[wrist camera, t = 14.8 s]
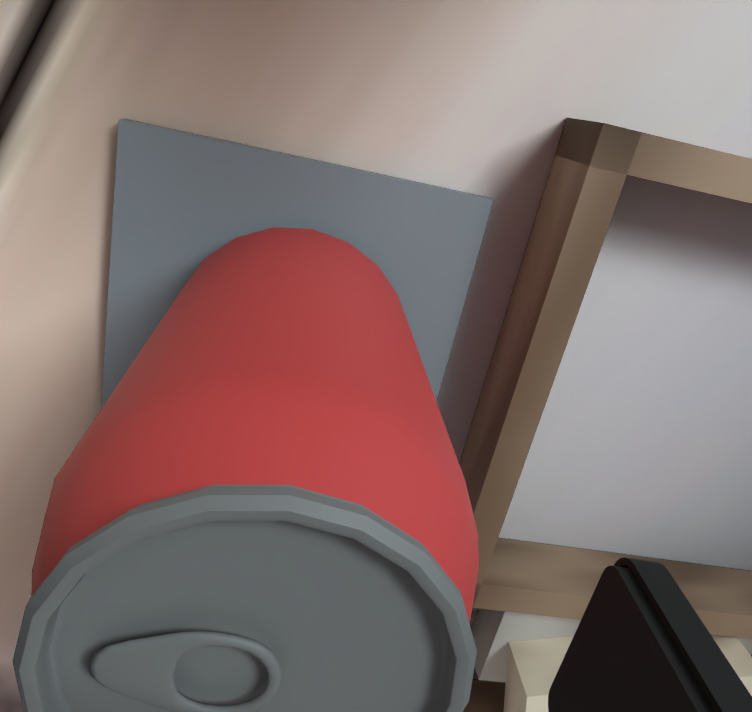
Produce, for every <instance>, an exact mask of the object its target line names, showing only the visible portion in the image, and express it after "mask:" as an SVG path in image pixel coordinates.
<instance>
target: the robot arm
mask: <svg viewBox="0 0 752 712" xmlns="http://www.w3.org/2000/svg"><path fill="white" fill-rule="evenodd" d="M548 710H549V712H752V696H751V695H750V693H749V692H748V690H747V689H746V687H745V686H744V684H743V683H742V681H741V680H740V678H739V677H738V675H737V673H736V672H735V670H734V669H733V667H732V666H731V664H730V663H729V661H728V660H727V658H726V657H725V655H724V654H723V652H722V651H721V649H720V648H719V646H718V645H717V643H716V642H715V640H714V639H713V637H712V636H711V634H710V633H709V631H708V630H707V628H706V627H705V625H704V624H703V622H702V621H701V619H700V618H699V616H698V615H697V613H696V612H695V610H694V609H693V607H692V606H691V604H690V603H689V601H688V600H687V598H686V597H685V595H684V594H683V592H682V591H681V589H680V588H679V586H678V585H677V583H676V582H675V580H674V579H673V577H672V576H671V574H670V573H669V571H668V570H667V568H666V567H665V566H664V565H663V564H661V563H659V562H653V561H646V560H639V559H633V558H626V557H625V558H620V559H619V560H617V561H616V563H615V564H614V566H608V567H606V568H605V570H604V571H603V573H602V575H601V577H600V579H599V582H598V584H597V586H596V588H595V590H594V593H593V595H592V597H591V599H590V601H589V604H588V606H587V608H586V610H585V612H584V615H583V617H582V619H581V621H580V623H579V626H578V628H577V630H576V632H575V634H574V637H573V639H572V641H571V643H570V645H569V648H568V650H567V652H566V654H565V656H564V659H563V661H562V663H561V665H560V667H559V670H558V672H557V674H556V676H555V678H554V681H553V683H552V685H551V687H550V690H549V695H548Z"/></svg>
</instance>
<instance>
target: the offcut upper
mask: <svg viewBox="0 0 752 712" xmlns="http://www.w3.org/2000/svg"><path fill="white" fill-rule="evenodd" d="M711 636H712V637H713V639H714V640H715V642H716V643H717V645H718V646H719V648H720V649H721V651H722V652H723V654H724V655H725V657H726V658H727V660H728V661H729V663H730V664H731V666H732V667H733V669H734V670H735V672H736V673H737V675H738V677H739V678H740V680H741V681H742V683H743V684H744V686H745V687H746V689H747V690H748V692H749V693H750V695H751V696H752V656H751V655H750V654H749V652H748V651H747V650H746V648H745V647H744V646H743V644H742V643H741V642H740V640H739V639H738V638H737V637H729V636H720V635H711ZM573 637H574V636H569V637H558V638H547V639H535V640H524V641H512V642H509V644H508V657H507V670H506V684H505V697H504V710H503V712H549V710H548V695H549V690H550V687H551V685H552V683H553V681H554V678H555V676H556V674H557V672H558V670H559V667H560V665H561V663H562V661H563V659H564V656H565V654H566V652H567V650H568V648H569V645H570V643H571V641H572V639H573Z"/></svg>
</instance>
